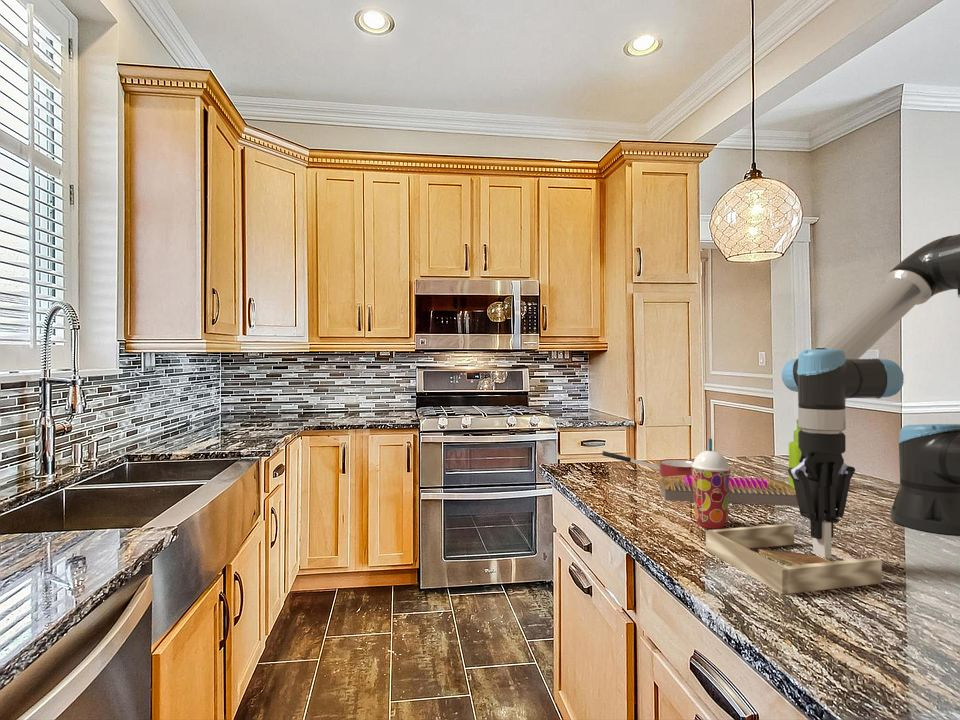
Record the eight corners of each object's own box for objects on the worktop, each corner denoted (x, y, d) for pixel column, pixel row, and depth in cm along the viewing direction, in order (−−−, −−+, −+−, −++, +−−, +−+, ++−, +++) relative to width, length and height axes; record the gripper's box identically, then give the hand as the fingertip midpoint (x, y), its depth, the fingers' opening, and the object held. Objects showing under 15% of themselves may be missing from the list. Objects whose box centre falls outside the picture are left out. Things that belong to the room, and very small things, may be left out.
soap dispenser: (812, 486, 158) (812, 419, 158) (812, 491, 152) (811, 421, 152) (789, 483, 161) (789, 418, 161) (788, 488, 155) (788, 420, 155)
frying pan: (598, 474, 177) (598, 455, 177) (604, 467, 189) (604, 449, 189) (702, 482, 165) (702, 461, 165) (702, 473, 177) (701, 454, 177)
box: (789, 542, 111) (789, 523, 111) (881, 583, 91) (881, 559, 91) (705, 550, 107) (705, 530, 107) (782, 594, 87) (782, 570, 87)
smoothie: (700, 517, 128) (700, 435, 128) (736, 525, 123) (736, 438, 122) (685, 525, 123) (684, 439, 123) (722, 533, 117) (721, 442, 117)
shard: (757, 555, 105) (757, 546, 105) (787, 550, 107) (787, 541, 107) (807, 577, 95) (807, 567, 95) (838, 570, 97) (838, 561, 97)
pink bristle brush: (785, 494, 150) (784, 472, 150) (805, 508, 136) (804, 484, 136) (655, 489, 158) (655, 468, 158) (662, 502, 144) (662, 479, 144)
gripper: (833, 426, 105) (834, 545, 105) (776, 429, 103) (777, 550, 103) (868, 432, 98) (869, 559, 98) (807, 434, 95) (808, 565, 95)
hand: (822, 555), depth 100 cm, fingers closed
